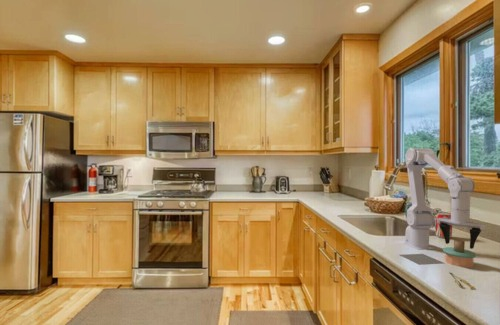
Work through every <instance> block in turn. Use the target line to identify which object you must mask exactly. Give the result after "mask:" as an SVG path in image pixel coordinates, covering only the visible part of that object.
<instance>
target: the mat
mask: <svg viewBox="0 0 500 325" xmlns="http://www.w3.org/2000/svg"><path fill="white" fill-rule="evenodd" d="M399 256H400V257H402V258H405V259H407V260H408V261H410V262H413V263H415V264H417V265H419V266H421V265H437V264H439V265H440V264H444V262H443V261H442V260H441V261H440V260H439V259H436V258H434V257H432V256H429V255H427V254H424V253H411V254H399Z"/></svg>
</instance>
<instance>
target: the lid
mask: <svg viewBox="0 0 500 325" xmlns="http://www.w3.org/2000/svg"><path fill="white" fill-rule="evenodd" d="M465 245H466V244H465V240H462V239H453V247H443V249H442V252H443V253H444V254H445V253H446V254H449V255H452V256H457V257H463V258H476V255H477V253H475V251H472V250H469V249H465V248H466V247H465Z"/></svg>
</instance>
